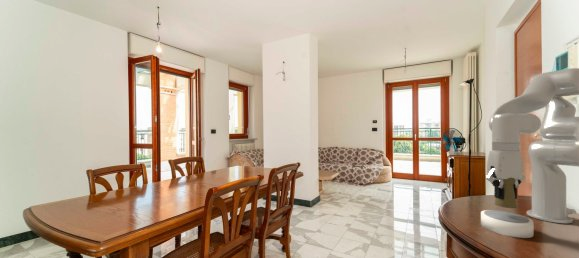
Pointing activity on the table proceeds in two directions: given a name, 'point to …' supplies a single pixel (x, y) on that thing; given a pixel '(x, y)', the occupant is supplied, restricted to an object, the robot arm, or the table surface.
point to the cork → (507, 194)
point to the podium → (507, 223)
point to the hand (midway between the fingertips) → (505, 197)
